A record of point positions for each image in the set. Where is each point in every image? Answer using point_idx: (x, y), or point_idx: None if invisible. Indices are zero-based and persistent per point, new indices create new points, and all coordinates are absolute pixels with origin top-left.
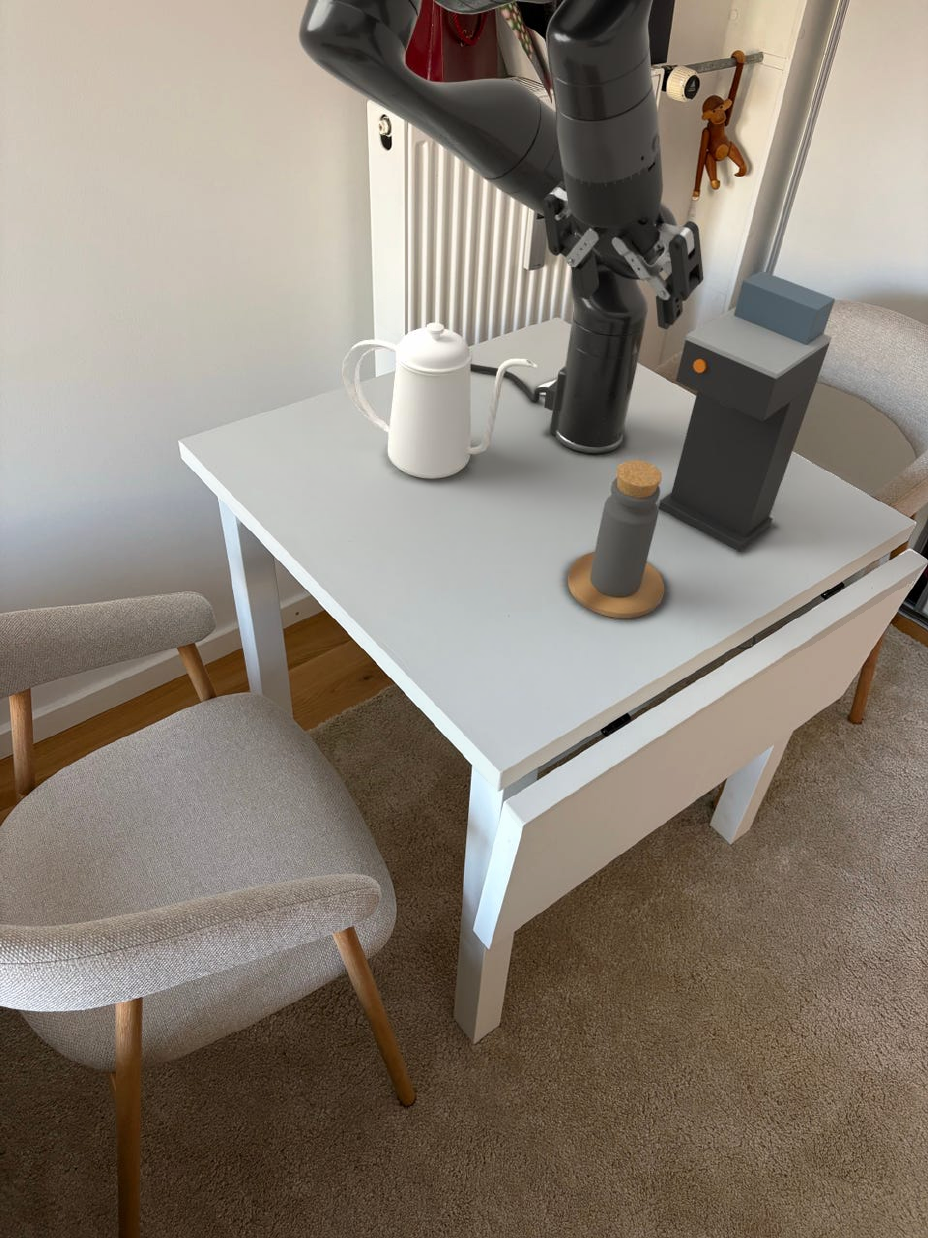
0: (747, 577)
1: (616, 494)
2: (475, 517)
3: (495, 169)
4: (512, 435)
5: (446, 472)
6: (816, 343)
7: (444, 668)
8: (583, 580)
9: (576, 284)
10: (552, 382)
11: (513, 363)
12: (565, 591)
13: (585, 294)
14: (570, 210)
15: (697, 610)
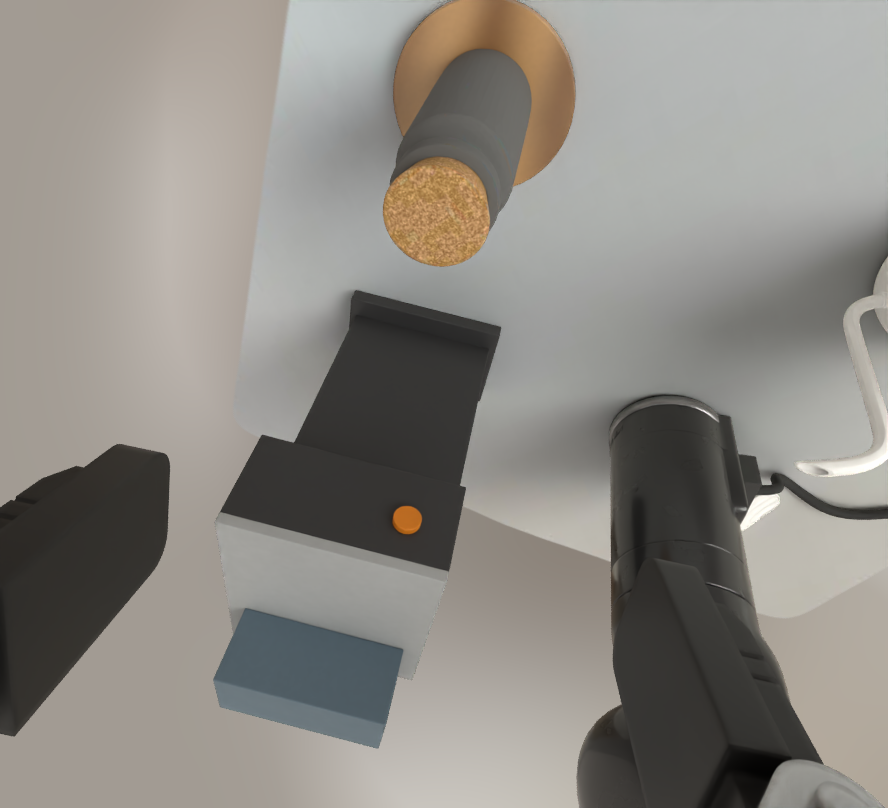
0: (319, 241)
1: (471, 151)
2: (819, 142)
3: None
4: (796, 390)
5: None
6: (236, 614)
7: None
8: (537, 65)
9: (734, 631)
10: (758, 516)
11: (860, 458)
12: (562, 22)
13: (656, 579)
14: None
15: (338, 120)
